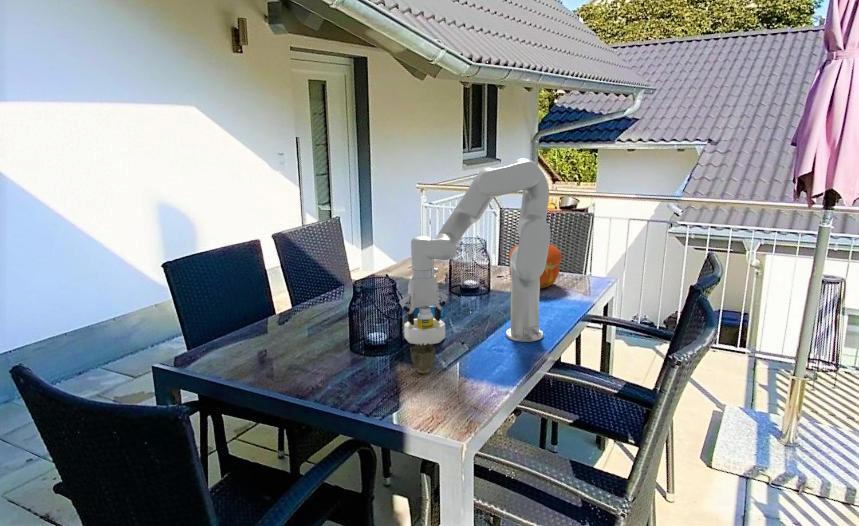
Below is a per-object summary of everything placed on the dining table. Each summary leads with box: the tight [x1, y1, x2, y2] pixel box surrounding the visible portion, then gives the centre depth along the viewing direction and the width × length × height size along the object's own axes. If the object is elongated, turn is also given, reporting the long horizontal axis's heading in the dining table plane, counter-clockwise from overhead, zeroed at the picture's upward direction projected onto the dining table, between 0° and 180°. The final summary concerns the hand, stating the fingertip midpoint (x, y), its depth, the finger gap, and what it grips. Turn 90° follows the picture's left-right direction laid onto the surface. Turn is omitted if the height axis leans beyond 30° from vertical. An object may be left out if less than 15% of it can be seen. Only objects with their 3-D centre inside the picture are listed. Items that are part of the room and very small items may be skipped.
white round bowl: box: [403, 317, 446, 346], centre depth 203 cm, size 13×13×5 cm
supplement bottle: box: [416, 306, 434, 329], centre depth 202 cm, size 5×5×10 cm
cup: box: [409, 343, 436, 375], centre depth 174 cm, size 8×7×8 cm
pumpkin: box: [508, 243, 563, 289], centre depth 260 cm, size 23×23×20 cm
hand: (424, 321), depth 202 cm, fingers open, 9 cm apart
